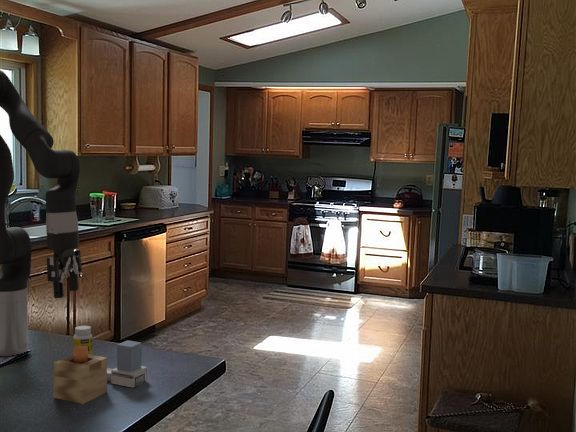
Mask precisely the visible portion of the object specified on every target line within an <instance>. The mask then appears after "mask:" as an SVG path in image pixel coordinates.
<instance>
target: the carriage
mask: <svg viewBox="0 0 576 432" xmlns="http://www.w3.org/2000/svg"><path fill="white" fill-rule="evenodd" d="M142 344H143V343H142V342H139V341H134V340H125V341H123V342H120V343H118V344H116V367H115V368H111V369H112V370H111V382H110V383H111V384H112V385H113V384H114V385H117V386H124V387H129V388H134V387H135V378H136V377H138V376H140V375H144V382H146V381H147V380H148V367H147V366H143V365H142V350H143V349H142V346H143V345H142ZM135 388H136V387H135Z"/></svg>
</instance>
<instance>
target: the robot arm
mask: <svg viewBox="0 0 576 432" xmlns="http://www.w3.org/2000/svg"><path fill="white" fill-rule="evenodd" d="M0 108H2V110H3V111H5V112H6V114H7V115H8V123H9V128H10V131H11V134H12V135H13V137H14V138H15V139H16V140H17V142H19V144H20V145H21V146H22V148H23V149H25V150H26V151H27V153H28V156H29V158H30V160H31V162H32V165H33V167H34V169H35V170H36V172H37V173H38V174H39V175H41V176H42V177H44V178H46V179H50V180H51V179H57V181H56V184H55V186H54V187H52V188H49V189H47V191H45V209H46V210H45V212H46V214H45V215H46V217H45V218H46V219H45V229H46V231H45V232H46V243H47V250H49V251H53V256H48V257H46V272H47V274H46V275H47V276H46V278H47V282H49V283H51V284H52V286H53V287H52V288H53V289H52V290H53V297H54V298H55V299H62V298H64V296H65V293H64V282H63V281H64V277H65V275H67V277H68V278H67V279H68V290H69V292H77V291H78V290H79V278H78V277H79V275H80V273H82V271H83V270H82V268H83V267H82V257H81V256H82V255H81V250H80V249H78V248H79V247H80V235H79V220H78V215H77V214H78V213H77V206H76V193H77V187H78V183H79V178H80V174H81V164H80V159H79V157H78V155H77V154H76V152H74V151H73V150H71V149H53V147H54V142H55V141H54V138H53V136H52V135H51V133H50V132H49V131H48V129H46V128H45V127H44V125H43V124H42V123H41V122H40V121H39V120H38V119H37V118H36V117H35V115H33V113H32V112H31V110H30V109H29V108H28V106H27V104H26V103H25V101H24V99H23V98H22V96H21V95H20V93H19V92H18V90H17V88H16V87H15V85H14V84H13V82H12V80H11V79H10V78H9V77H8V75H7V74H6V72H4V71H2V70H1V69H0ZM14 170H15V169H14V164H13V157H12V152H11V149H10V147H9V146H8V144H7V142H6V141H5V139H4V138H3V136H2V135H1V134H0V265H1V267H0V357H12V355H14V356H17V355H16V354H19V355H22V354H24V352H25V353H26V352H28V350H29V321H28V320H29V318H28V317H29V316H28V315H29V314H28V313H29V312H28V306H29V304H28V301H29V300H28V297H29V296H28V282H29V280H30V276H31V271H32V269H31V268H32V266H31V265H32V241H31V238H30V235H29V233H28V232H27V231H26V230H25V229H24V228H22V227H19V226H12V227H7V225H6V215H5V213H6V211H5V209H6V205H7V201H8V198H9V196H10V193H11V190H12V187H13V183H14V180H15V171H14ZM21 353H22V354H21Z"/></svg>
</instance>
